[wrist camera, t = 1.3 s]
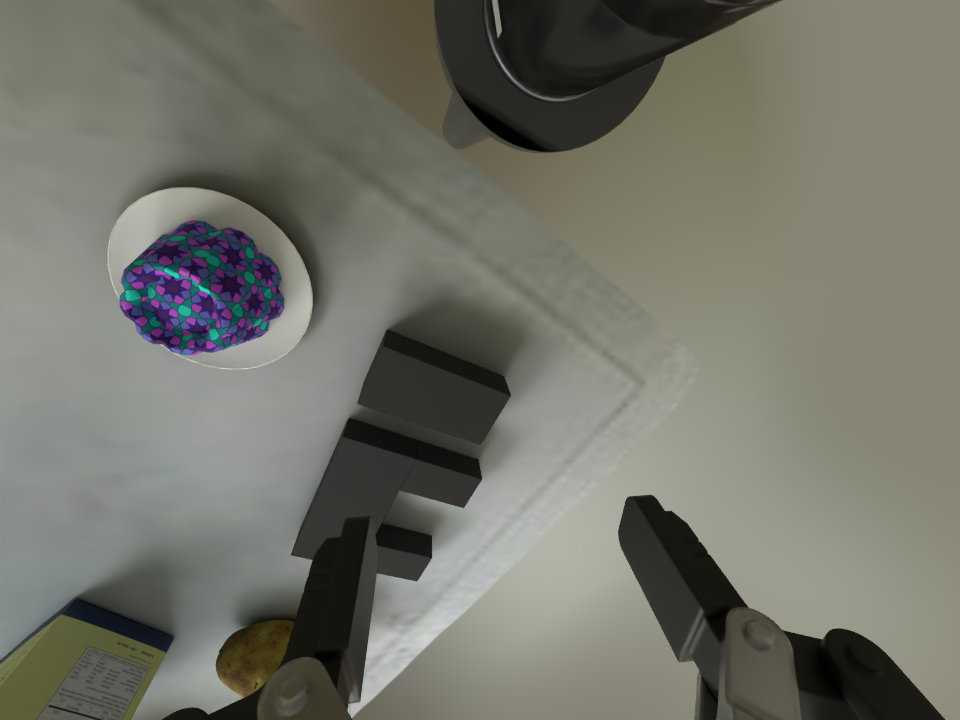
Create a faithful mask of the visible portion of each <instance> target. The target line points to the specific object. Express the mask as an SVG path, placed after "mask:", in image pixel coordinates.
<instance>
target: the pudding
mask: <svg viewBox="0 0 960 720" xmlns="http://www.w3.org/2000/svg"><path fill="white" fill-rule="evenodd" d="M107 253H108V269H109V273H110V277H111V281H112V285H113V287H114V289H115V291H116V294H117V296H118V298H119V300H120V308H121V309H122V311H123V313H124V315H125V316H126V317H128V318H129V319H131V320H132V321H134V322H135V325H136V330H137V332H138V333H139V334H140V335H141V336H142V337H143V338H144V339H145V340H147V341H149V342H151V343H153V344H160V345H162V346H163V347H165V348H166V349H168V350H169V351H171V352H173V353H175V354H177V355H179V356H181V357H183V358H185V359H187V360H190V361H193V362H196V363H198V364H201V365H205V366H210V367H214V368H221V369H232V370H236V369H250V368H255V367H260V366H264V365H266V364H269V363H271V362H274V361H276V360H278V359H280V358H281V357H283V356H284V355H286V354H287V353H289V352H290V351H291V350H292V349H293V348H294V347H295V346H296V345H297V344H298V343H299V341H300V340H301V338H302V337H303V335H304V334H305V332H306V330H307V327H308V325H309V322H310V319H311V314H312V308H313V292H312V287H311V282H310V277H309V274H308V272H307V269H306V267H305V264H304V262H303V260H302V258H301V256H300V255H299V253H298V251H297V250H296V248H295V246H294V245H293V244H292V242H291V241H290V240H289V239H288V237H287V236H286V235H285V234H284V232H283V231H282V230H281V229H280V228H279V227H277V226H276V225H275V224H274V223H273V222H272V221H271V220H270V219H269V218H268V217H266V216H265V215H263V214H262V213H261V212H259V211H258V210H256V209H255V208H253V207H252V206H250V205H248V204H246V203H244V202H242V201H240V200H238V199H236V198H234V197H232V196H229V195H226V194H223V193H220V192H217V191H214V190H208V189H202V188H195V187H173V188H169V189H164V190H159V191H155V192H153V193H150V194H148V195H146V196H143V197H141V198H139V199H138V200H137V201H135V202H134V203H133V204H131V205H130V206H129V207H127V208H126V210H125V211H124V212H123V213H122V215H121V216H120V217H119V218H118V220H117V221H116V223H115V226H114V228H113V230H112V232H111V234H110V239H109V245H108V250H107Z"/></svg>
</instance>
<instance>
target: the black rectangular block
mask: <svg viewBox="0 0 960 720" xmlns="http://www.w3.org/2000/svg"><path fill="white" fill-rule="evenodd" d="M510 396H511V394H510V392H509V389H508V386H507V383H506V380H505V377H504V376H502V375H499V374H497V373H494V372H492V371H489V370H487V369H484V368H482V367H479V366H477V365H474V364H472V363H469V362H467V361H464V360H462V359H460V358H457V357H455V356H452V355H450V354H447V353H445V352H442V351H440V350H437V349H435V348H432V347H430V346H427V345H425V344H422V343H420V342H417V341H415V340H412V339H410V338H407V337H405V336H402V335H400V334H397V333H395V332H392V331H390V330H386V332H385V335H384V337H383V339H382V342H381V344H380V346H379V349H378V351H377V353H376V355H375V358H374V360H373V362H372V365H371V367H370V369H369V372H368V374H367V376H366V379H365V381H364V383H363V387H362V390H361V393H360V396H359V400H358V404H360V405H363V406H366V407H369V408H372V409H375V410H378V411H381V412H384V413H387V414H390V415H393V416H396V417H398V418H401V419H404V420H407V421H410V422H413V423H416V424H419V425H422V426H425V427H428V428H431V429H434V430H437V431H440V432H443V433H446V434H449V435H452V436H455V437H458V438H461V439H464V440H467V441H470V442H473V443H476V444H479V445H481V444H482V442H483V441H484V439H485V437H486V436H487V434H488V432H489V431H490V429H491V427H492V426H493V424H494V423H495V421H496V419H497V418H498V416H499V414H500V413H501V411H502V409H503V408H504V406H505V404H506V403H507V401H508V400H509V398H510Z"/></svg>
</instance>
